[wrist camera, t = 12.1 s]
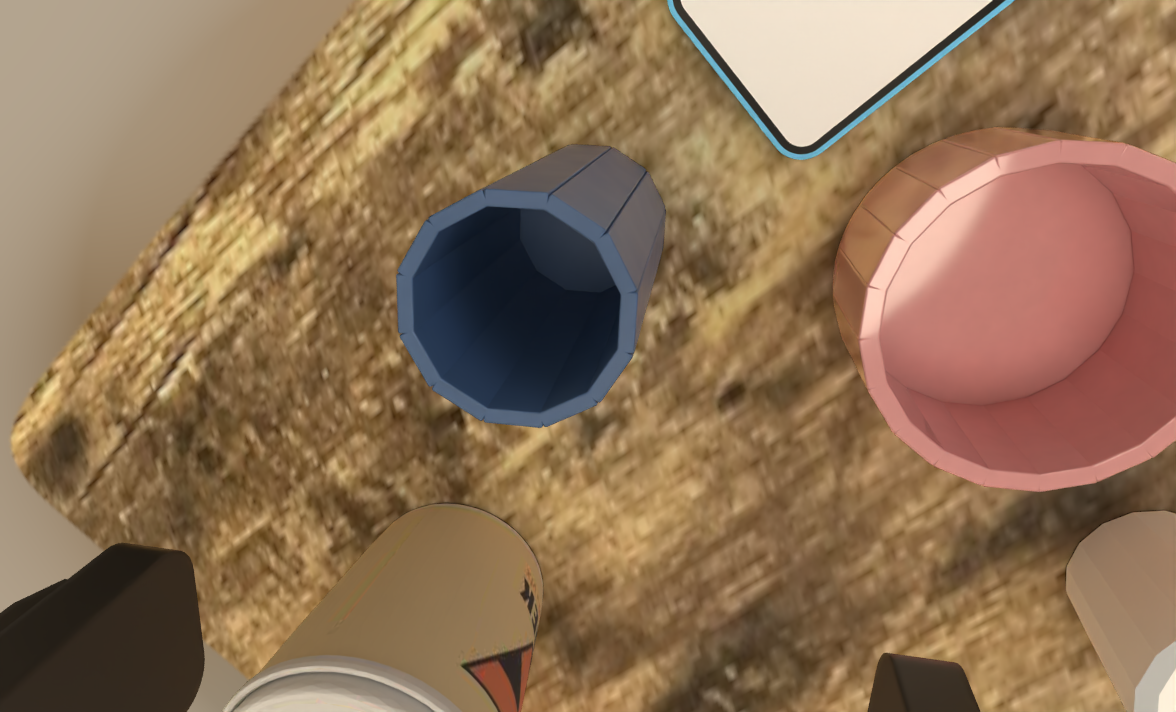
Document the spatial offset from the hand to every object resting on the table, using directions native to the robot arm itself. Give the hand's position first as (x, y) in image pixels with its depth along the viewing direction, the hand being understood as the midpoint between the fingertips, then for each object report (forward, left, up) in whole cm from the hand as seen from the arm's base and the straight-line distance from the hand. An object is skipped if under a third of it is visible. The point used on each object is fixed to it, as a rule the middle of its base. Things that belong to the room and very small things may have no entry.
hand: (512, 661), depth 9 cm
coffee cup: (+7, +15, -22) cm, 28 cm away
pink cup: (-12, 0, -22) cm, 25 cm away
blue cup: (+2, -1, -22) cm, 22 cm away
